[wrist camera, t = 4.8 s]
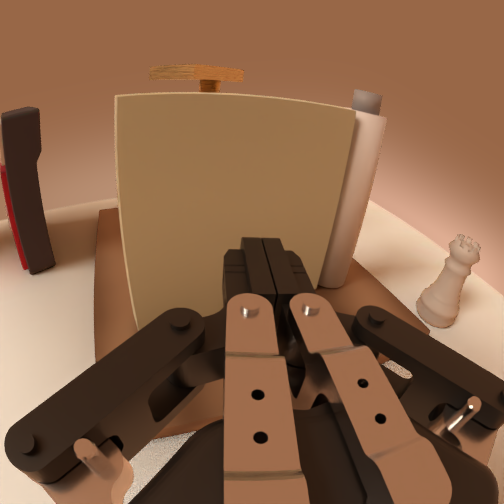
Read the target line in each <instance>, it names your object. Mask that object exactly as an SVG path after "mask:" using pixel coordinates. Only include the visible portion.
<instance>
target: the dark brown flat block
mask: <svg viewBox="0 0 504 504" xmlns="http://www.w3.org/2000/svg"><path fill="white" fill-rule="evenodd" d="M40 136H41V135H40V113H39V109H38V108H34V107H24V108H20V109H16V110H12V111H9V112H5V113H2V116H1V118H0V161H1V162H0V172H1V179H2V185H3V191H4V197H5V202H6V206H5V207H6V214H7V216H9V218H8V220H9V227H10V229H12V232H13V236H14V240H15V243H16V247H17V250H18V254H19V257H20V260H21V263H22V267H23V269H24V270H26V269H29V272H30V274H34V273H36V272H39V271H41V270H44V269H46V268H49V267H52V266H54V265H55V260H54V256H53V252H52V248H51V244H50V239H49V235H48V230H47V226H46V221H45V216H44V211H43V206H42V199H41V193H40V187H39V180H38V172H37V160H38V158H39V155H40V153H41V137H40Z"/></svg>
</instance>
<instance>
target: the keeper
mask: <svg viewBox="0 0 504 504" xmlns="http://www.w3.org/2000/svg"><path fill="white" fill-rule="evenodd" d="M243 74H244V70H239V69H232V68H225V67H217V66H208V65H198V64H188V65H187V64H184V65H166V66H152V67H150V77H149V79H150V80H154V79H187V80H188V79H189V80H190V79H191V80H200V85H199V92H207V93H220V84H221V81H235V82H243Z"/></svg>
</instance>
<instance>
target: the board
mask: <svg viewBox="0 0 504 504" xmlns="http://www.w3.org/2000/svg"><path fill="white" fill-rule="evenodd" d="M314 290H315V292H316V294H317V295H319V296H321V297H323V298H325V299H326V300H327V301H328V302H329V303H330V305H331V306H332V308H333V310H334V311H336V312H339V313H344V314H349V315H355V316H356V313H357V311H358V310H359V309H360V308H361V307H363V306H367V305H373V306H377V307H380V308H383V309H385V310H386V311H388V312H390V313H391V314H393V315H395V316H397V317H398V318H400V319H402V320H403V321H405V322H407V323H408V324H410V325H412V326H414V327H415V328H417V329H419V330H420V331H422V332H424V333H425V334H427V335H428V334H429V332H430V330H429V329H428V328H427V327H426V326H425V325H424V324H423V323H422V322H421V321H420V320H419V319H418V318H417V317H416V316H415V315H414V314H413V313H412V312H411V311H410V310H409V309H408V308H407V307H406V306H405V305H403V304H402V303H401V302H400V301H399V300H398V299H397V298H396V297H395V296H394V295H393V294H392V293H391V292H390V291H389V290H388V289H386V288H385V287H384V286H383V285H382V284H381V283H380V282H379V281H378V280H377V279H376V278H374V277H373V276H372V275H371V274H370V273H369V272H368V271H367V270H366V269H365V268H363V267H362V266H361V265H360V264H359V263H358V262H357V261H356V260H354V259H353V258H352V260H351V263H350V266H349V269H348V273H347V276H346V279H345V282H344V284H343V285H342V286H340V287H338V288H326V287H323V286H320V285H318V284H317V288H316V289H314ZM137 332H138V328H137V325H136V321H135V318H134V314H133V309H132V303H131V298H130V292H129V286H128V280H127V274H126V268H125V261H124V254H123V246H122V238H121V229H120V220H119V209H118V208H112V209H104V210H100V211H99V220H98V230H97V242H96V257H95V277H94V338H95V358H96V362H98V361H99V360H100V359H102V358H103V357H104V356H106V355H107V354H108V353H110V352H111V351H112V350H114V349H115V348H116V347H118V346H119V345H120V344H122V343H123V342H124V341H126V340H127V339H129V338H130V337H131V336H133V335H134V334H135V333H137ZM278 351H279V349H278ZM388 360H390V359H389V358H388V357H386V356H384V355H383V354H380V356H379V358H378V360H377V362H378V363H380V364H382V363H384V362H386V361H388ZM222 414H223V379H220V380H216V381H213V382H209V383H206V384H205V386H204V388H203V389H202V390H201V391H200V392H199V393H198V394H197V395H196V396H195V397H194V399H193V400H192V401H191V402H190V403H189V404H188V405H187V406H186V407H185V408H184V409H183V410H182V411H181V412H180V413H179V414H178V415H177V416H176V417H175V418H174V419H173V420H172V421H171V422H170V423H169V424H168V425H166V426H165V427H164V428H163V429H162V430H161V431H160V432H159V433H158V434H157V435H156V436H155V437H154V438H153V439H157V438H163V437H168V436H173V435H178V434H183V433H187V432H192V431H196V430H200V429H201V428H203V427H204V426H206V425H208V424H210V423H212V422H214V421H217V420H219V419H222Z"/></svg>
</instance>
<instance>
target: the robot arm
mask: <svg viewBox="0 0 504 504" xmlns="http://www.w3.org/2000/svg"><path fill="white" fill-rule="evenodd" d="M222 295H223V308H222V309H221V310H220V311H219V312H217V313H215V314H212V315H209V316H205V317H202V316H201V315H200V314H199V313H198V312H196V311H194V310H192V309H189V308H173V309H169V310H167V311H165V312H164V313H162V314H161V315H159V316H158V317H157V318H155V319H154V320H153V321H151V322H150V323H149V324H147V325H146V326H145V327H143V328H142V329H141V330H139V331H138V332H137V333H135V334H134V335H133V336H131V337H130V338H129V339H127V340H126V341H124V342H123V343H122V344H120V345H119V346H118V347H116V348H115V349H114V350H112V351H111V352H110V353H108V354H107V355H106V356H104V357H103V358H102V359H100V360H99V361H98V362H96V363H95V364H94V365H92V366H91V367H90V368H88V369H87V370H86V371H84V372H83V373H82V374H80V375H79V376H78V377H76V378H75V379H74V380H72V381H71V382H70V383H68V384H67V385H66V386H64V387H63V388H62V389H60V390H59V391H58V392H56V393H55V394H54V395H52V396H51V397H50V398H48V399H47V400H46V401H44V402H43V403H42V404H40V405H39V406H38V407H36V408H35V409H34V410H32V411H31V412H30V413H28V414H27V415H26V416H24V417H23V418H22V419H20V420H19V421H18V422H16V423H15V424H14V425H13V426H12V427H11V428H10V429H9V430H8V432H7V434H6V437H5V443H4V446H5V452H6V455H7V457H8V459H9V461H10V462H11V463H12V464H13V465H14V466H15V467H16V468H18V469H19V470H20V471H22V472H23V473H25V474H26V475H27V476H28V477H29V478H30V479H32V480H33V481H34V482H36V483H37V484H39V485H41V486H42V487H43V488H44V490H45V491H46V492H47V493H48V495H49V496H50V497H51V498H52V499H53V501H54V502H55V503H56V504H123V500H124V496H125V494H126V492H127V491H128V489H129V488H130V487H131V485H132V483H133V479H134V473H133V469H132V467H131V465H130V463H129V461H130V460H131V459H132V458H133V457H134V456H135V455H136V454H137V453H138V452H139V451H140V450H141V449H143V448H144V447H145V446H146V445H147V444H148V443H149V442H150V441H151V440H152V439H153V438H154V437H155V436H156V435H157V434H158V433H159V432H160V431H161V430H162V429H163V428H164V427H165V426H166V425H168V424H169V423H170V422H171V421H172V420H173V419H174V418H175V417H176V416H177V415H178V414H179V413H180V412H181V411H182V410H183V409H184V408H185V407H186V406H187V405H188V404H189V403H190V402H191V401H192V400H193V399H194V397H195V396H196V395H197V394H198V393H199V392H200V391H201V390H202V389H203V388H204V386H205V384H206V383H209V382H213V381H216V380H220V379H223V414H222V419H219V420H217V421H214V422H212V423H210V424H208V425H206V426H204V427H203V428H201V429H200V430H198V431H197V432H196V433H194V434H193V435H192V436H191V437H190V438H189V439H188V440H187V441H186V442H185V443H184V444H183V445H182V447H181V448H180V449H179V450H178V451H177V452H176V453H175V454H174V456H173V457H172V458H171V459H170V460H169V461H168V462H167V463H166V464H165V465H164V467H163V468H162V469H161V470H160V471H159V472H158V473H157V474H156V475H155V476H154V477H153V478H152V479H151V481H150V482H149V483H148V484H147V485H146V486H145V487H144V488H143V489H142V490H141V491H140V492H139V493H138V494H137V495H136V496H135V497H134V498H133V499H132V500H131V501H130V502H129V503H128V504H498V496H499V492H498V485H497V481H496V478H495V476H494V475H493V473H492V472H491V470H490V469H489V468H488V467H487V464H488V461H489V458H490V455H491V451H492V448H493V445H494V441H495V438H496V434H497V431H498V429H499V427H501V426H502V425H503V424H504V381H503V380H502V379H500V378H498V377H497V376H495V375H493V374H492V373H490V372H489V371H487V370H485V369H484V368H482V367H480V366H479V365H477V364H475V363H474V362H472V361H470V360H469V359H467V358H465V357H464V356H462V355H460V354H459V353H457V352H456V351H454V350H452V349H451V348H449V347H447V346H446V345H444V344H442V343H440V342H439V341H437V340H435V339H434V338H432V337H430V336H429V335H427V334H425V333H424V332H422V331H420V330H419V329H417V328H415V327H414V326H412V325H410V324H408V323H407V322H405V321H403V320H402V319H400V318H398V317H397V316H395V315H393V314H391V313H390V312H388V311H386V310H385V309H383V308H380V307H377V306H373V305H367V306H363V307H361V308H360V309H359V310H358V311H357V313H356V316H355V315H349V314H344V313H339V312H336V311H334V310H333V308H332V306H331V305H330V303H329V302H328V301H327V300H326V299H325V298H323V297H321V296H319V295H317V294H316V292H315V290H314V288H313V285H312V283H311V281H310V278H309V276H308V274H307V272H306V269H305V267H304V265H303V263H302V260H301V258H300V257H299V256H298V255H297V254H296V253H294V252H293V251H291V250H284V248H283V245H282V243H281V240H280V238H259V237H242V238H241V244H240V249H228V251H227V252H226V254H225V255H224V259H223V279H222ZM278 349H279V351H278ZM380 354H383V355H384V356H386V357H388V358H389V359H391V360H392V361H394V362H396V363H397V364H399V365H400V366H402V367H404V368H405V369H407V370H408V371H410V372H411V374H412V375H413V377H412V378H409V379H405V378H402V377H401V376H399V375H397V374H396V373H394V372H393V371H391V370H389V369H388V368H386V367H385V366H383V365H382V364H380V363H378V362H377V360H378V358H379V356H380Z"/></svg>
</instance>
